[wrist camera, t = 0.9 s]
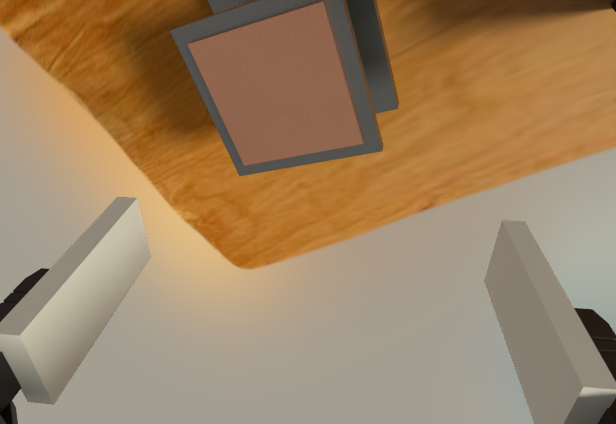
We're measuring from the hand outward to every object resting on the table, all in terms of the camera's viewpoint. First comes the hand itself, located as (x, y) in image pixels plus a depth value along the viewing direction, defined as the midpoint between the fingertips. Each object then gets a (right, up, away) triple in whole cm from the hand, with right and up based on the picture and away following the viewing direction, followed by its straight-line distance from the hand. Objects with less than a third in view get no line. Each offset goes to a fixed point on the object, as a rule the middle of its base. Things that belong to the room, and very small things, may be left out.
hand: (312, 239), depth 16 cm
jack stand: (0, +14, +19) cm, 23 cm away
